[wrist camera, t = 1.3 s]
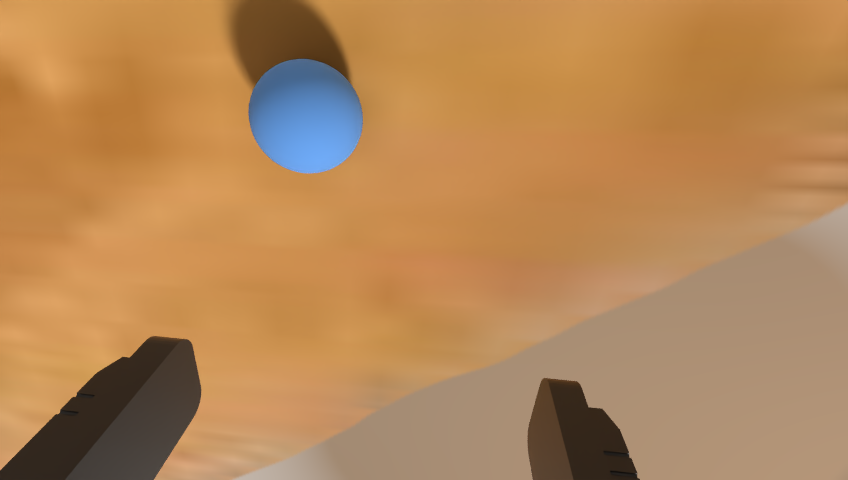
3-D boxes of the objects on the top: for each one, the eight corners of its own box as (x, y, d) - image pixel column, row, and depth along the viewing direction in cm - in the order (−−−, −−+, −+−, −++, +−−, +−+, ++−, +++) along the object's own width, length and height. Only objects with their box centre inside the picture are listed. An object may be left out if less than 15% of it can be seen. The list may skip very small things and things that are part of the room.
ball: (291, 31, 23) (245, 44, 18) (387, 83, 24) (368, 107, 19) (262, 125, 26) (215, 157, 21) (349, 168, 27) (324, 208, 22)
